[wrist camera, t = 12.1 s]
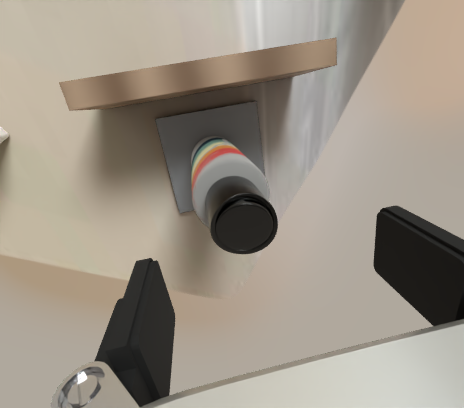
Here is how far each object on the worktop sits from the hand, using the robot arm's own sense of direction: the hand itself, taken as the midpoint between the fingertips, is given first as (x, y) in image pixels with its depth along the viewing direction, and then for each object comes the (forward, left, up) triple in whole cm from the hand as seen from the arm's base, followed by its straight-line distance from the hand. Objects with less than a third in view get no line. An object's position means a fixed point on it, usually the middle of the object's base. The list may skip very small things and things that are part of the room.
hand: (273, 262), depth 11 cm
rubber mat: (0, 0, -24) cm, 24 cm away
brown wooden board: (-5, -7, -24) cm, 26 cm away
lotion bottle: (0, 0, -24) cm, 24 cm away
